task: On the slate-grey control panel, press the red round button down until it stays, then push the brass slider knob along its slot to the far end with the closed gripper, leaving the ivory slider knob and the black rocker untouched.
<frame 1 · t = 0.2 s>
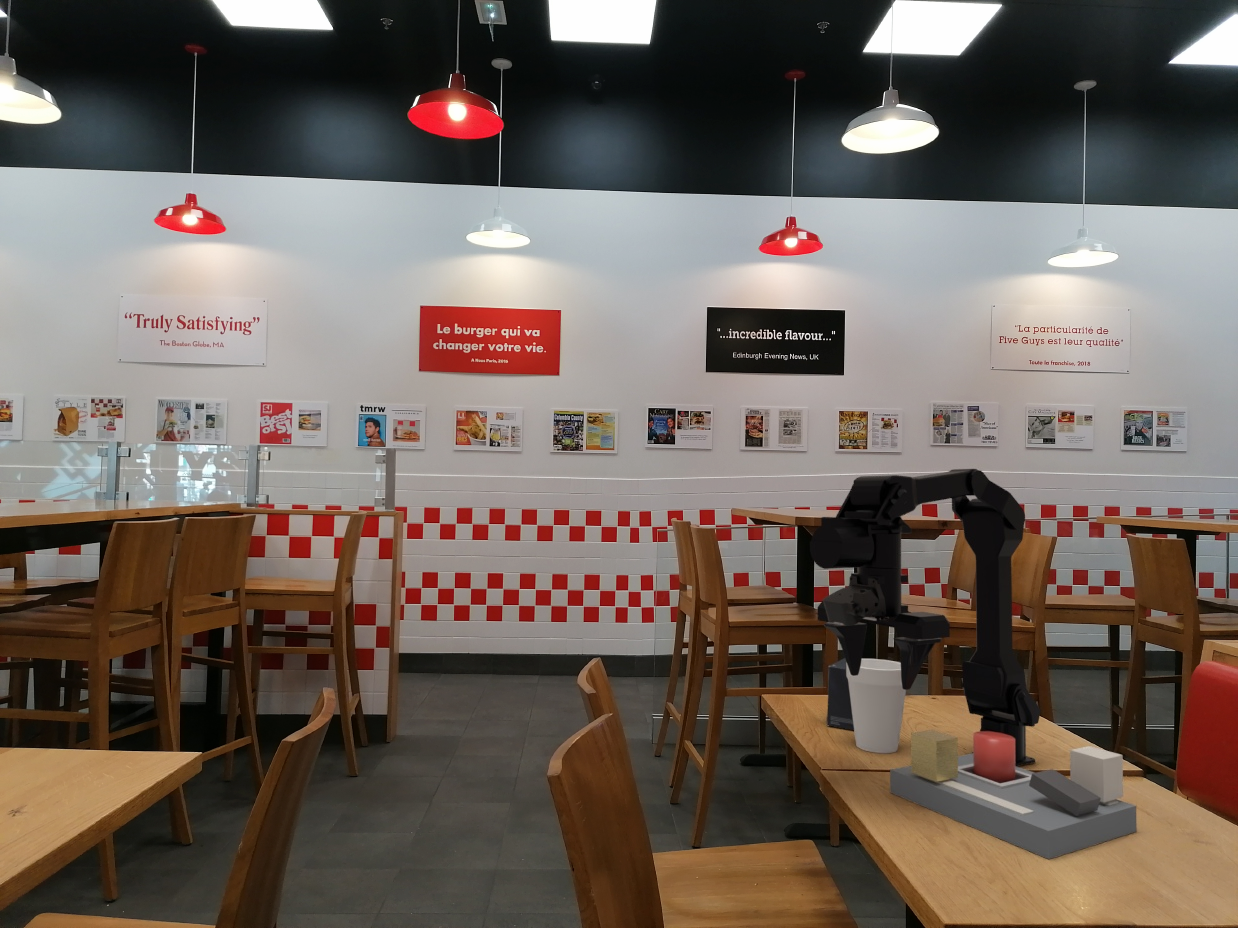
hand: (879, 681, 107), 14 cm above the table, tool pointing down, fingers open, 9 cm apart
panel: (1006, 810, 99), on the table
ivory slider: (1096, 773, 96), point 6 cm above the table, slide at 0.0 cm
small box: (853, 724, 138), on the table
black rocker: (1064, 791, 92), point 5 cm above the table, hinge at -15.0°
red button: (994, 758, 103), point 5 cm above the table, slide at 0.0 cm
brass slider: (934, 754, 101), point 6 cm above the table, slide at 0.0 cm
foam cup: (876, 748, 125), on the table
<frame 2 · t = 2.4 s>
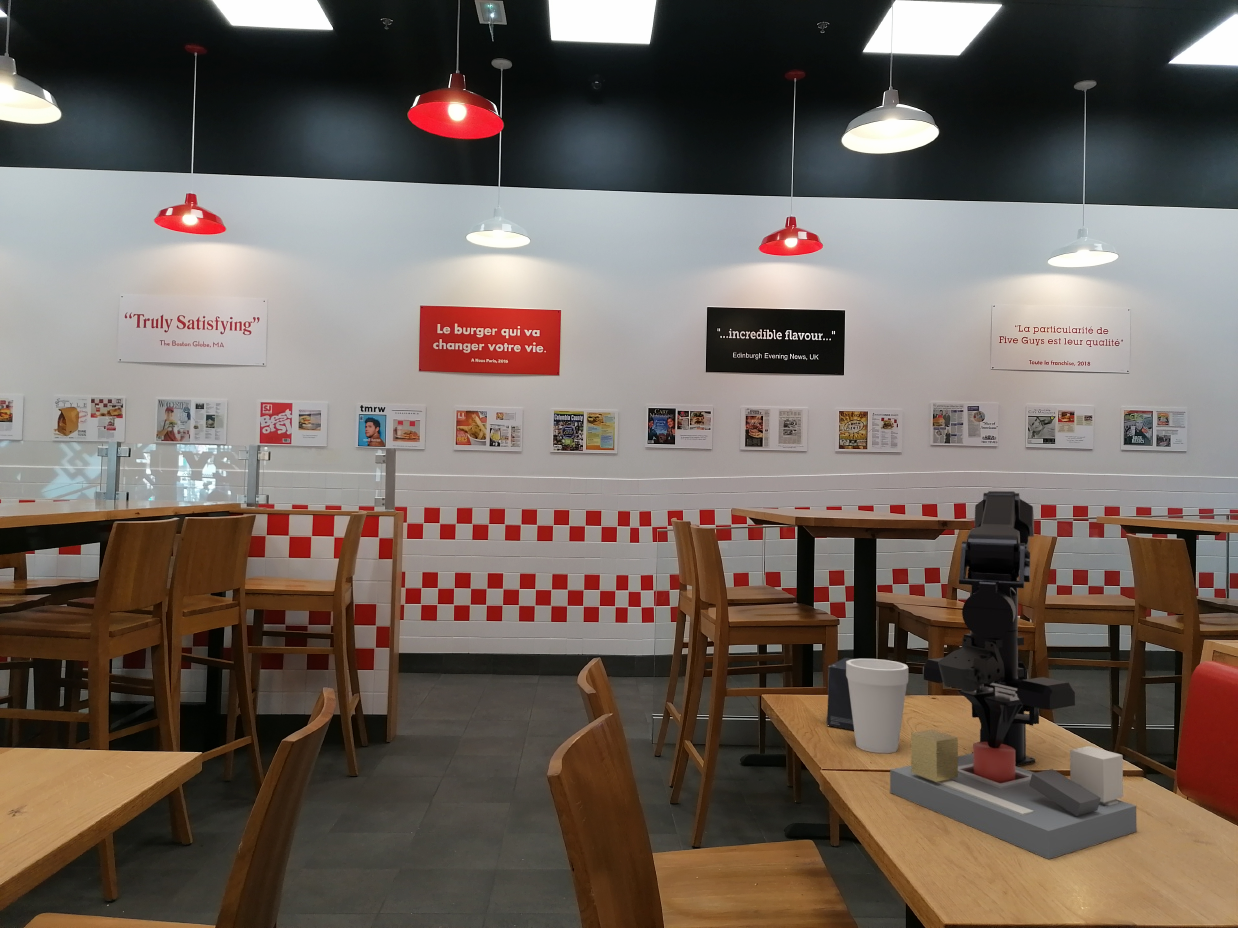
hand: (994, 747, 103), 7 cm above the table, tool pointing down, fingers closed, pressing on red button
red button: (994, 769, 103), point 4 cm above the table, slide at 1.4 cm, touching gripper
everything else where it was.
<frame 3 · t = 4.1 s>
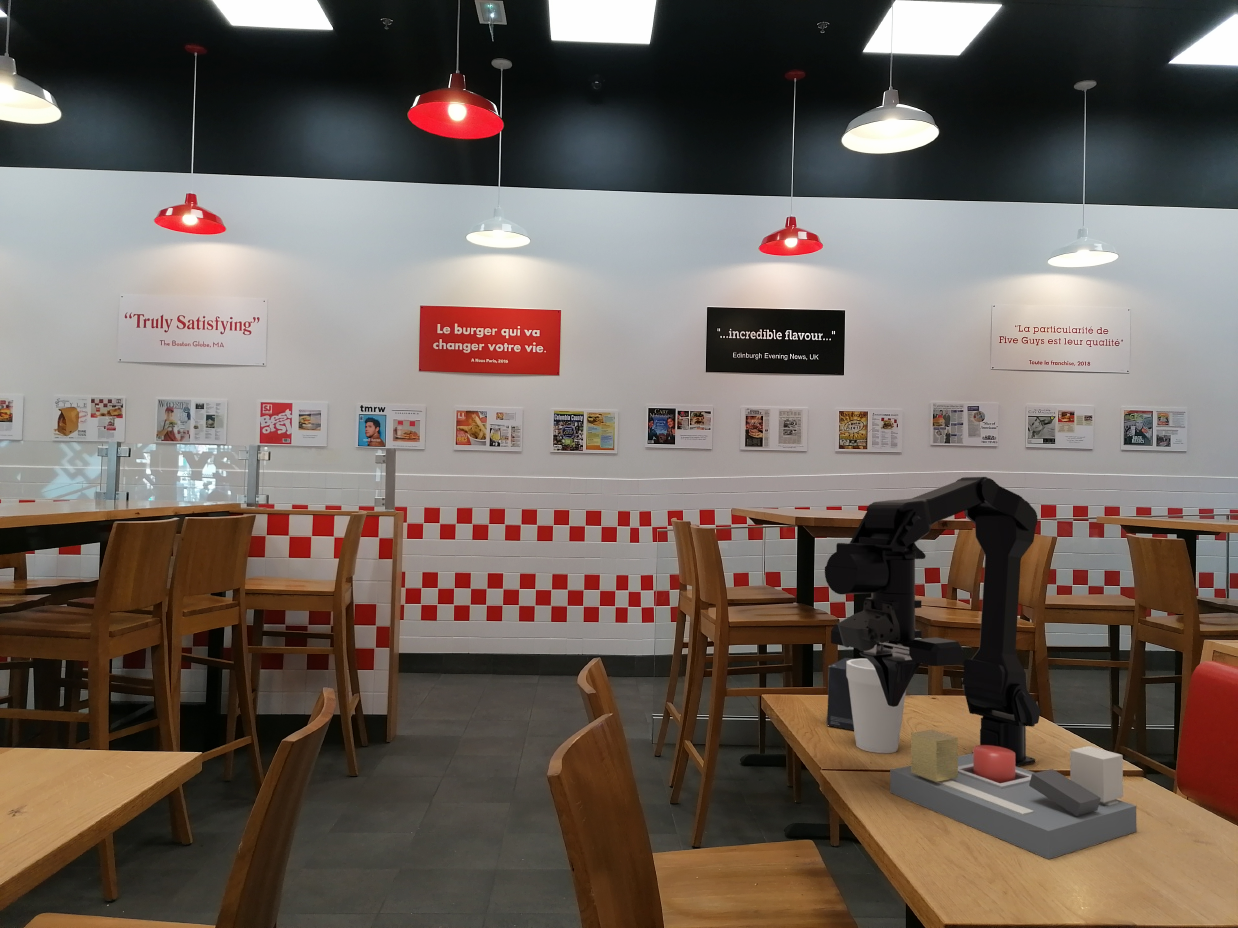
hand: (892, 705, 108), 11 cm above the table, tool pointing down, fingers closed
red button: (994, 772, 103), point 3 cm above the table, slide at 1.8 cm
everything else where it was.
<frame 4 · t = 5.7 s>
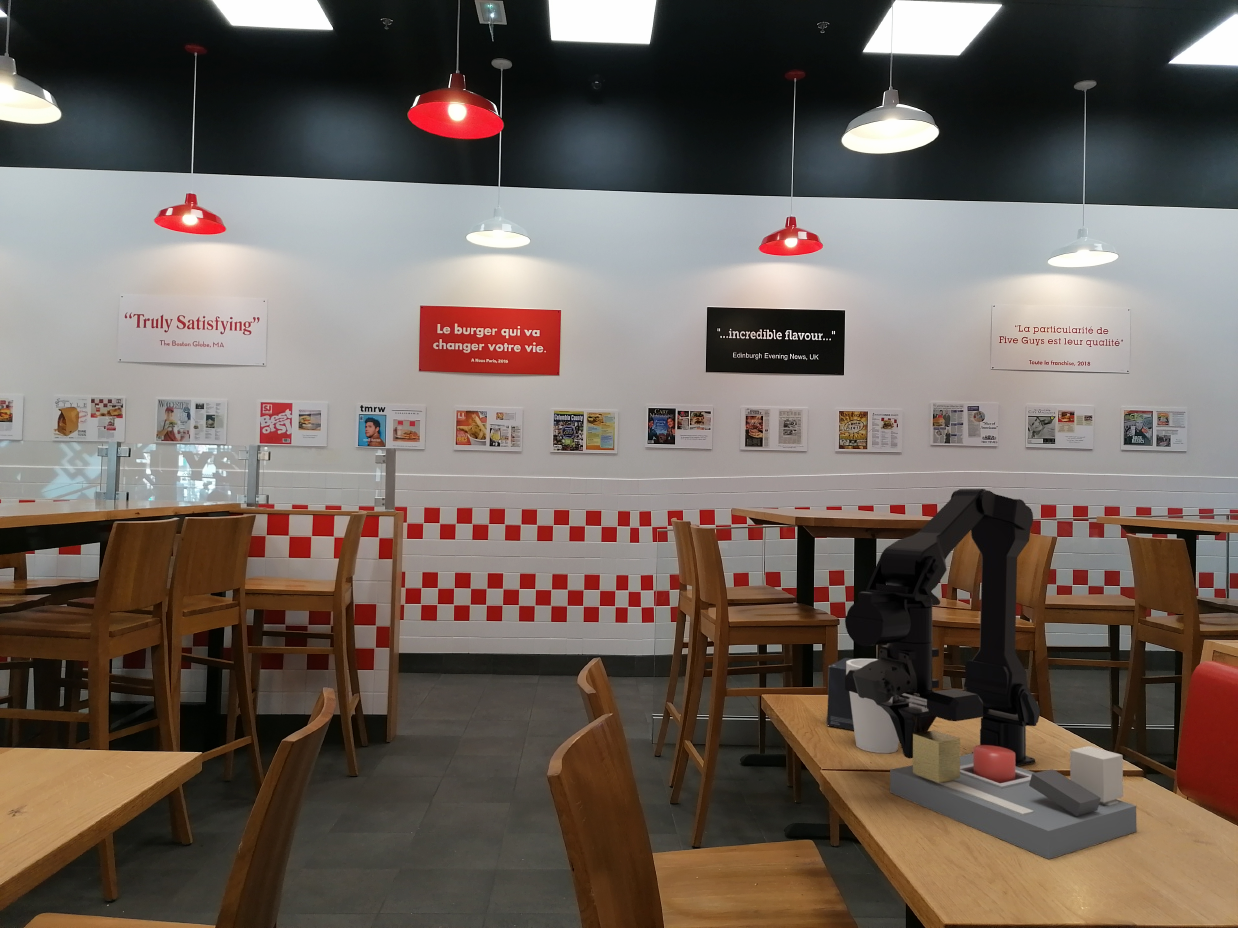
hand: (909, 757, 105), 5 cm above the table, tool pointing down, fingers closed
brass slider: (936, 755, 101), point 6 cm above the table, slide at 0.3 cm, touching gripper
everything else where it was.
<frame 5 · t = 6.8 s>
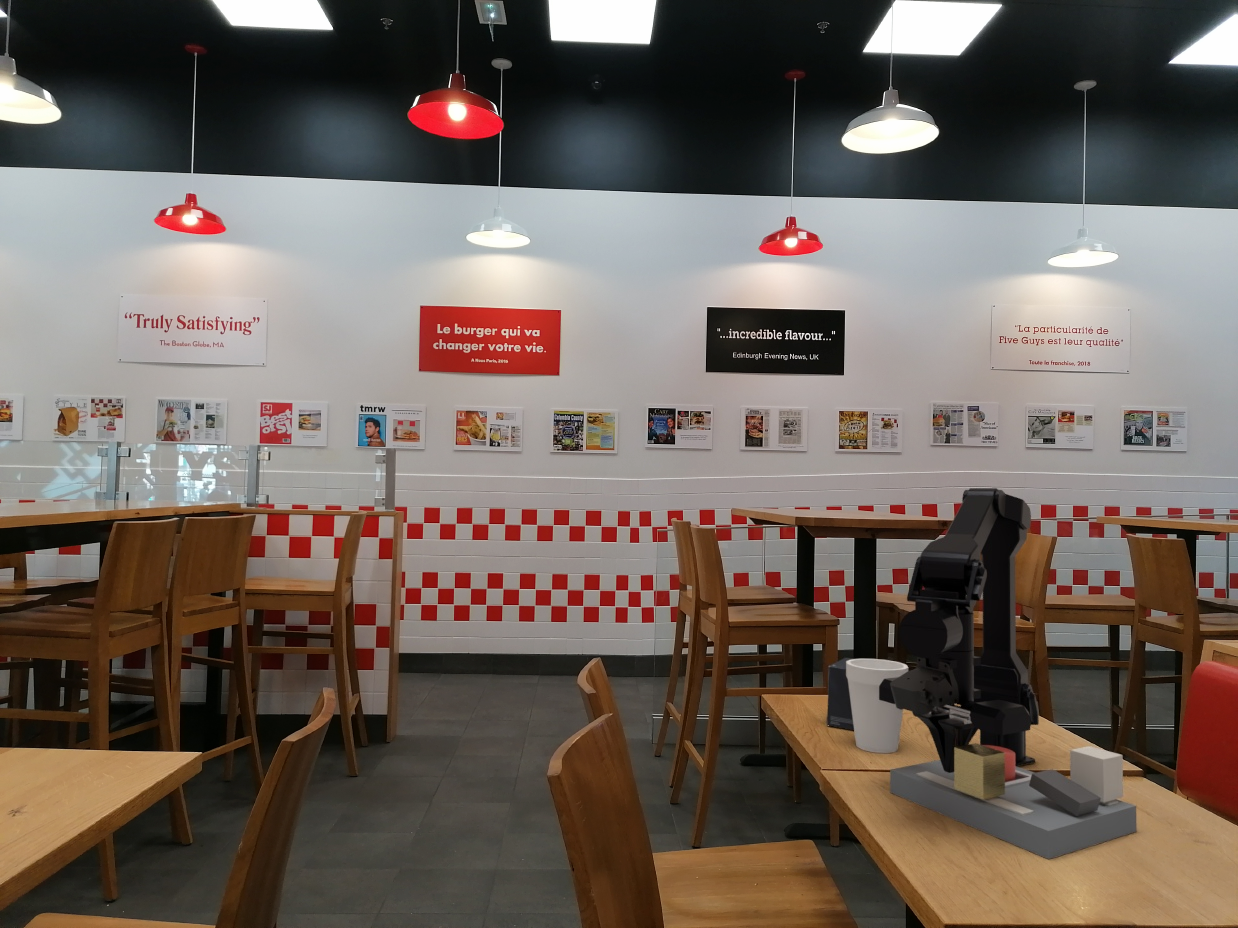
hand: (949, 771, 99), 5 cm above the table, tool pointing down, fingers closed
brass slider: (979, 770, 96), point 6 cm above the table, slide at 6.6 cm, touching gripper
everything else where it was.
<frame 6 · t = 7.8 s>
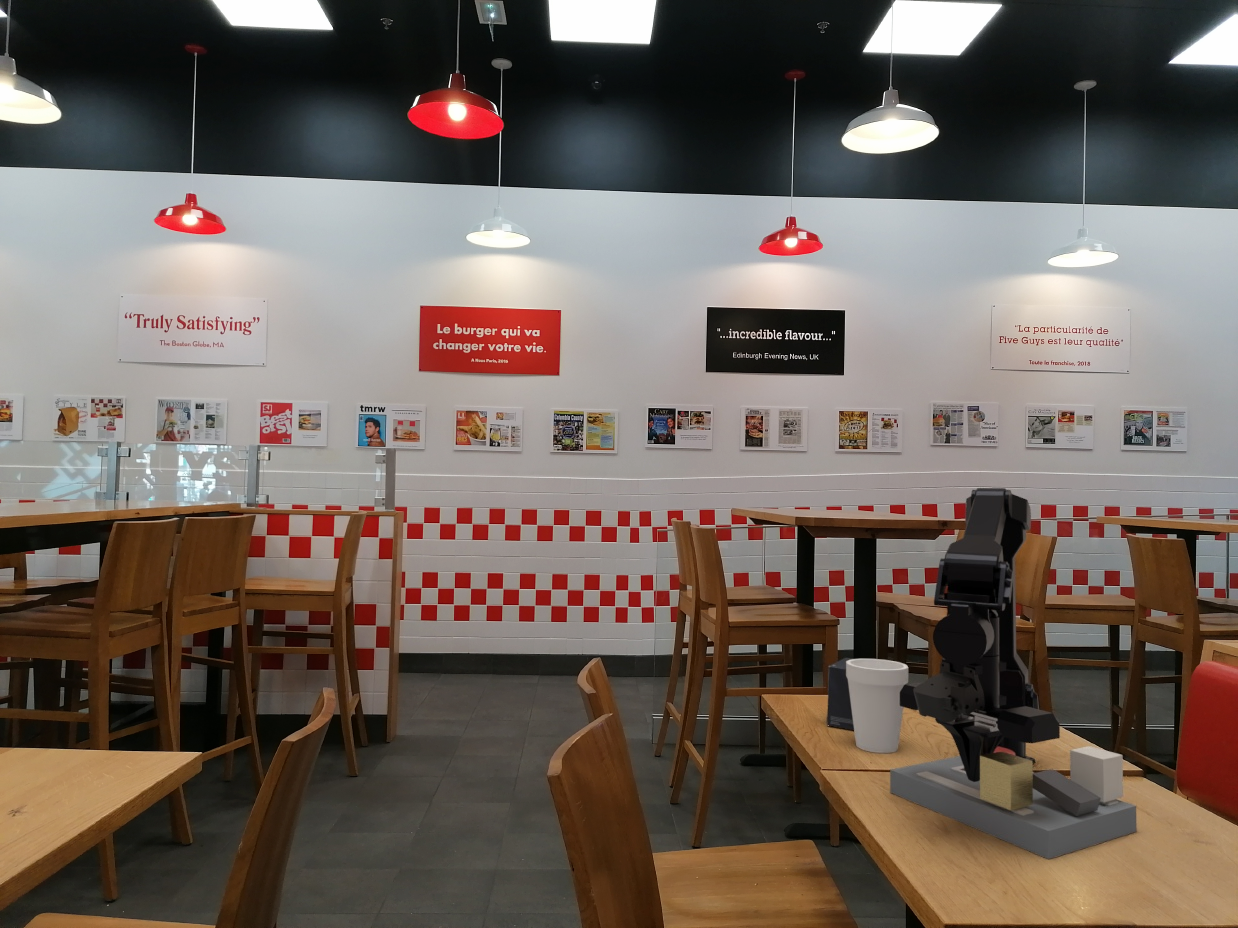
hand: (973, 780, 96), 5 cm above the table, tool pointing down, fingers closed
brass slider: (1006, 779, 93), point 6 cm above the table, slide at 10.2 cm, touching gripper
everything else where it was.
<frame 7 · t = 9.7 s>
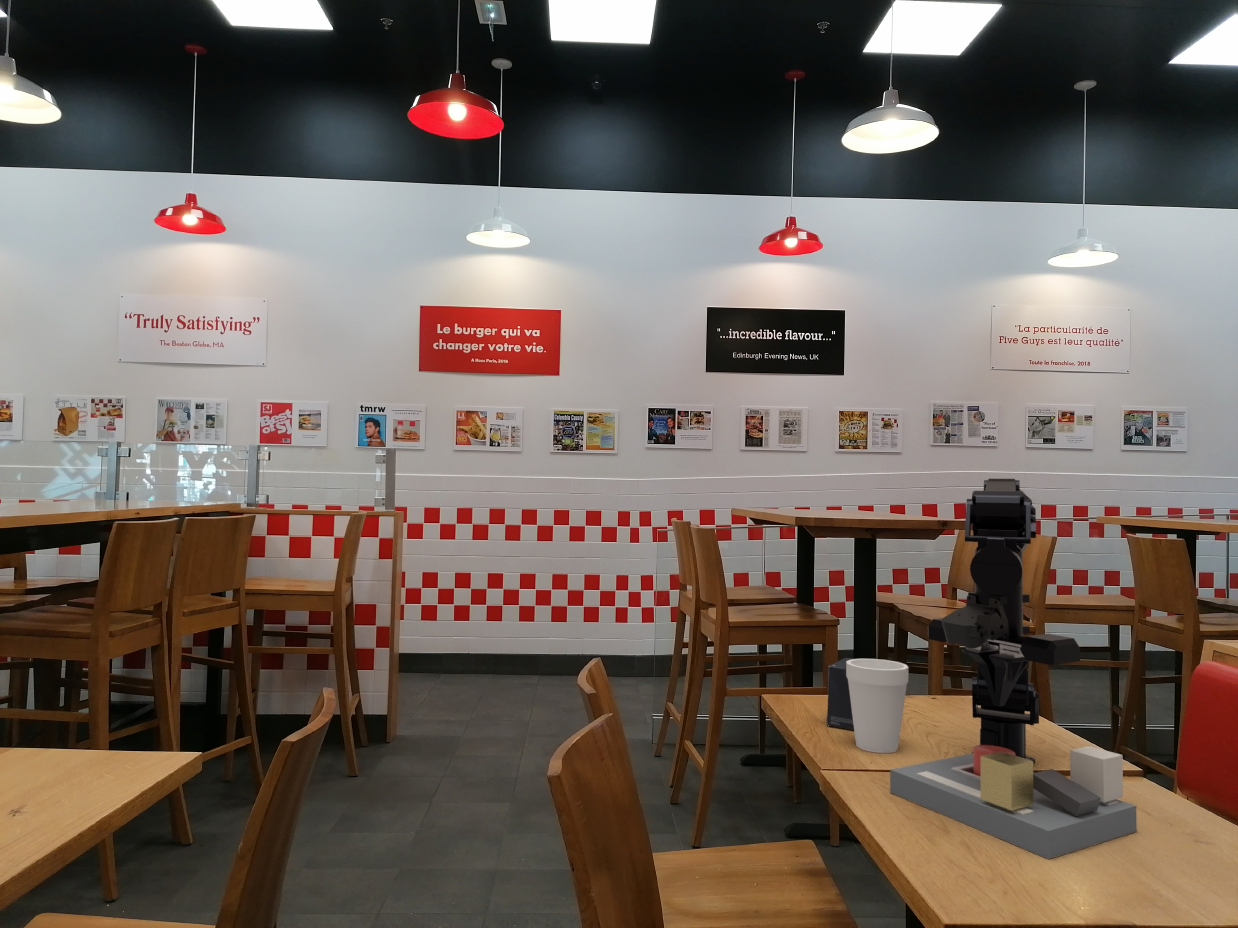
hand: (999, 705, 103), 12 cm above the table, tool pointing down, fingers closed
brass slider: (1006, 779, 92), point 6 cm above the table, slide at 10.3 cm
everything else where it was.
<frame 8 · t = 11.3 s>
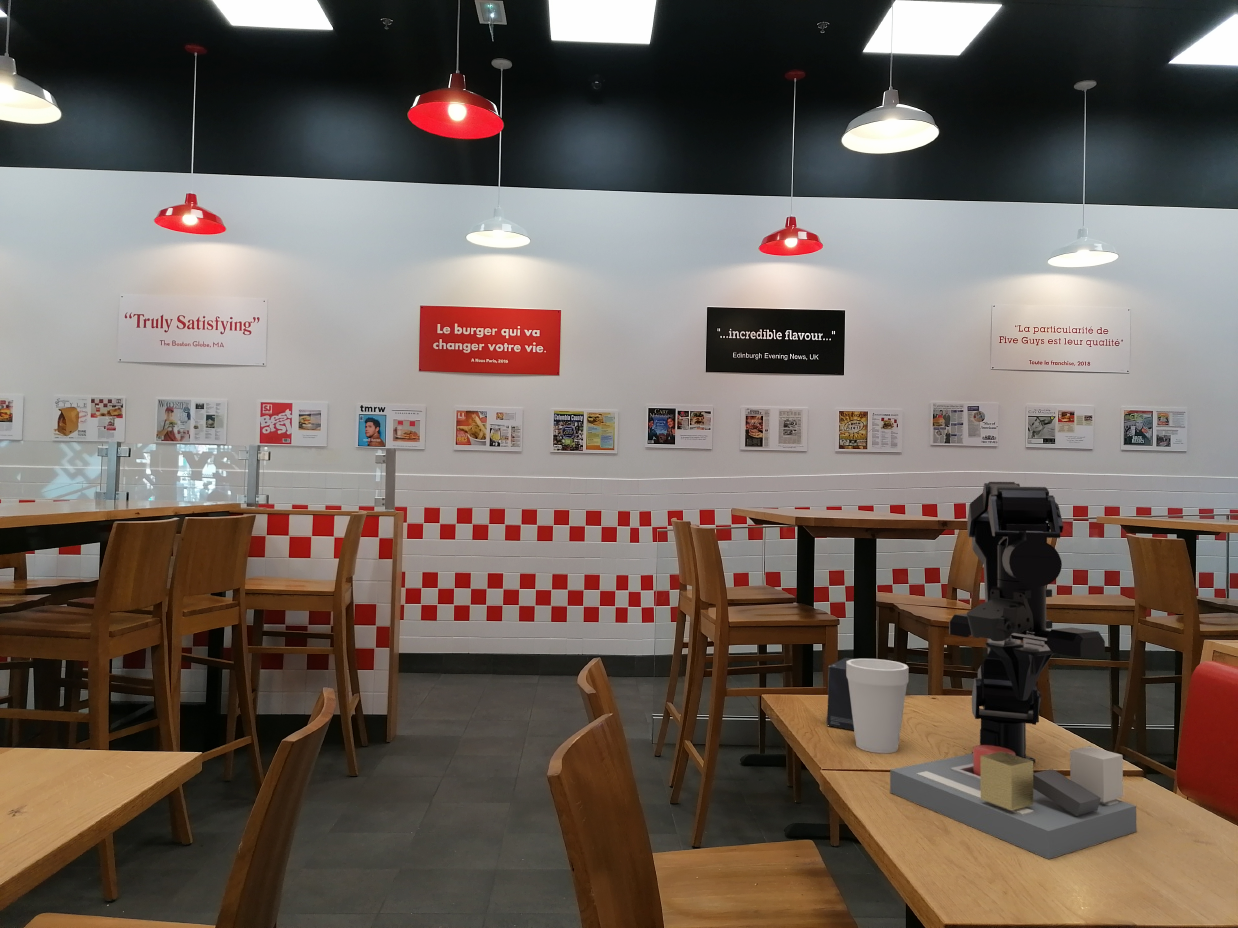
hand: (1022, 699, 103), 13 cm above the table, tool pointing down, fingers closed
nothing on the table moved.
at the end: brass slider slide at 10.3 cm; red button slide at 1.8 cm; ivory slider slide at 0.0 cm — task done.
